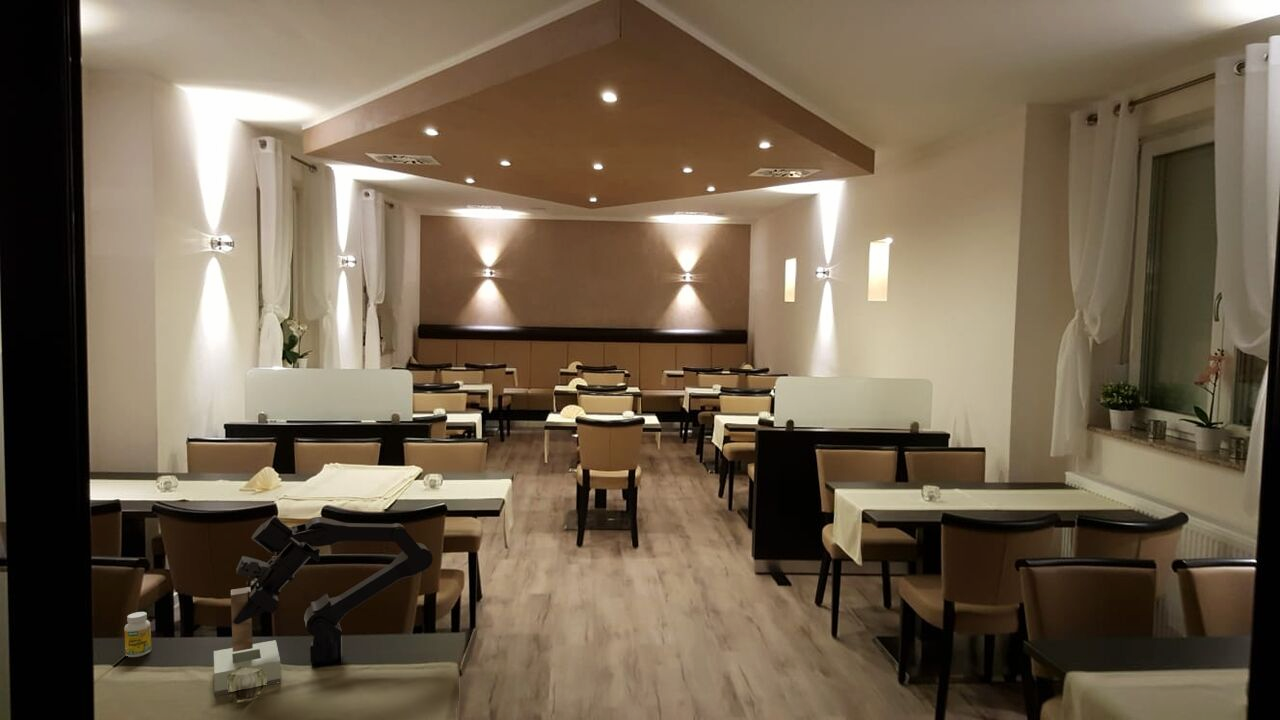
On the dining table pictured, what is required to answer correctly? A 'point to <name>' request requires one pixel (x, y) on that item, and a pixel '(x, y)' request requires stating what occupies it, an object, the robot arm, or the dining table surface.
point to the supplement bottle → (137, 635)
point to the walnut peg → (243, 629)
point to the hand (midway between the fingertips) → (234, 619)
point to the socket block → (246, 663)
